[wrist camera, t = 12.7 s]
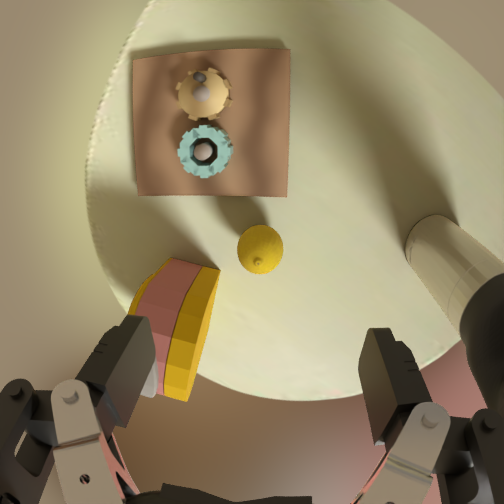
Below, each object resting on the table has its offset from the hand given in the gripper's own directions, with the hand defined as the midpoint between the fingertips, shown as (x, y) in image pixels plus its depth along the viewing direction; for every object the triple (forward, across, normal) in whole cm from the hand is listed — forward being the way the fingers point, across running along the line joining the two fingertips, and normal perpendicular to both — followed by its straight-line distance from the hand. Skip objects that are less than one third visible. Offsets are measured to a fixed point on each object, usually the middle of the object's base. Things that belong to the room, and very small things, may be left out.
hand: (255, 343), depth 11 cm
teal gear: (+28, +8, -4) cm, 29 cm away
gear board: (+30, +8, -7) cm, 32 cm away
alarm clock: (+30, +12, +18) cm, 37 cm away
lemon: (+30, +1, +8) cm, 31 cm away
